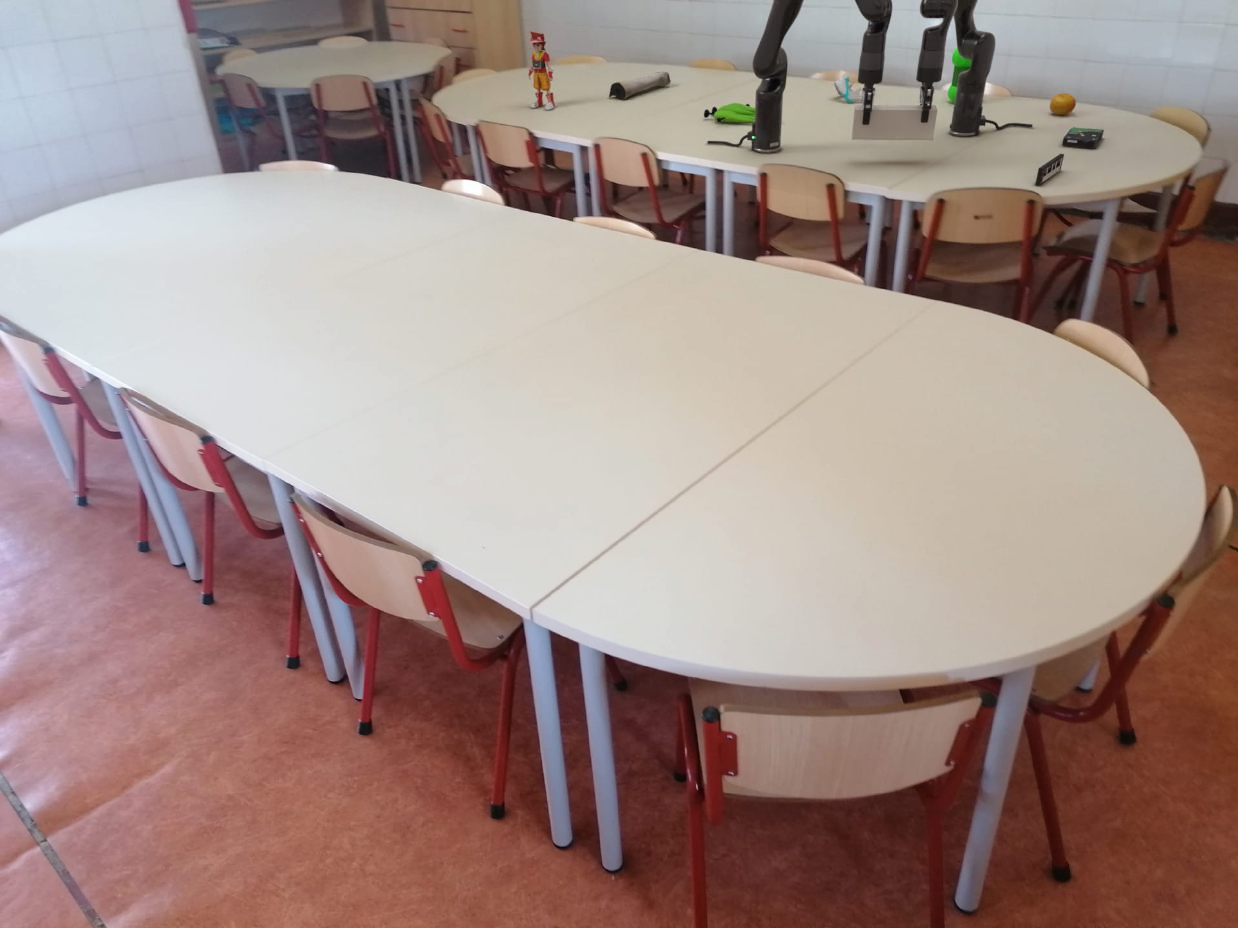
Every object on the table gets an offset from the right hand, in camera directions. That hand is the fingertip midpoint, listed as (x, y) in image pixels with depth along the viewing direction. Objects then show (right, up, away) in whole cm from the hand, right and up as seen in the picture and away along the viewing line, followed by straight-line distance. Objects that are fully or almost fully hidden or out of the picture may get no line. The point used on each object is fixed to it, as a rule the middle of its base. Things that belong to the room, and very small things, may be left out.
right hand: (923, 119), depth 286 cm
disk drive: (+60, -1, +17) cm, 62 cm away
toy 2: (-48, +24, +63) cm, 83 cm away
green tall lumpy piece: (+37, +33, +68) cm, 84 cm away
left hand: (-17, +1, +4) cm, 18 cm away
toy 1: (-130, +42, +97) cm, 167 cm away
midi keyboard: (+35, -22, -11) cm, 43 cm away
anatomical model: (-3, +39, +81) cm, 90 cm away
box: (-8, -4, +5) cm, 11 cm away
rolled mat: (-88, +55, +111) cm, 152 cm away
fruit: (+67, +20, +46) cm, 84 cm away
